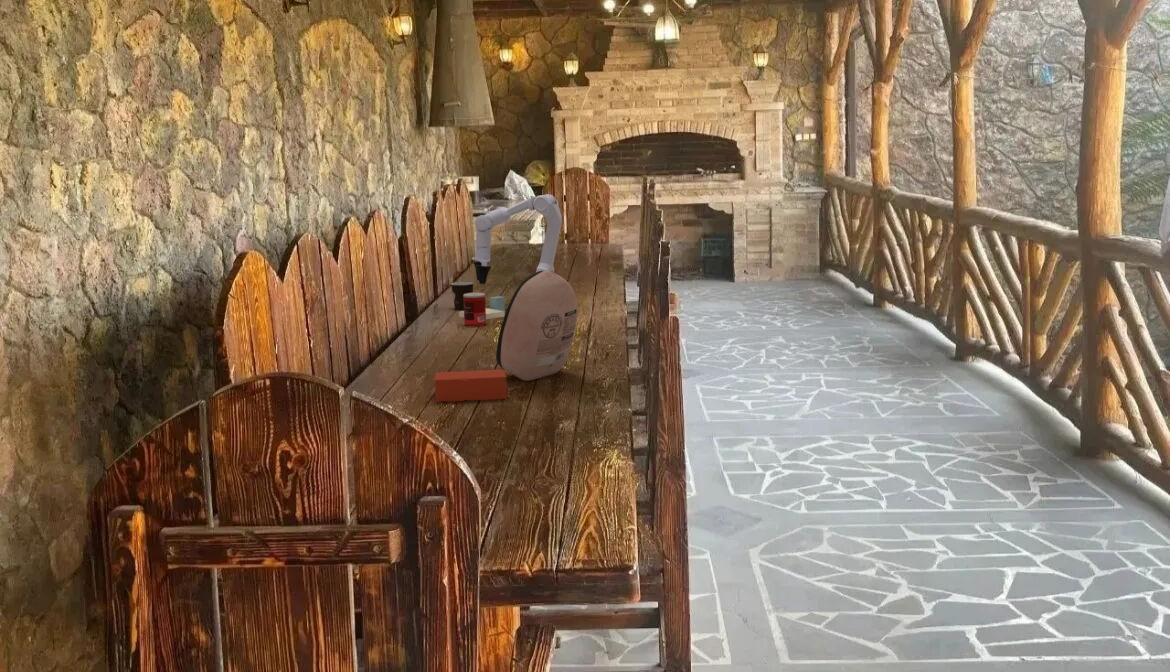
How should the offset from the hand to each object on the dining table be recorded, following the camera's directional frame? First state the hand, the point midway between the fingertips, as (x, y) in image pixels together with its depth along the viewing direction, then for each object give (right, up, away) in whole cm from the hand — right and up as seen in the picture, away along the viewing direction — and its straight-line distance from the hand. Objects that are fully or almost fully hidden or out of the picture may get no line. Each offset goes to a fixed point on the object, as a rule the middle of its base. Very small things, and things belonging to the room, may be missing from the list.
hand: (481, 282), depth 405 cm
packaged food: (+27, -32, -112) cm, 119 cm away
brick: (+10, -37, -131) cm, 137 cm away
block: (+7, -12, -4) cm, 14 cm away
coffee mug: (-7, -10, +7) cm, 15 cm away
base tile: (+2, -14, -12) cm, 18 cm away
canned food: (+1, -17, -29) cm, 33 cm away
